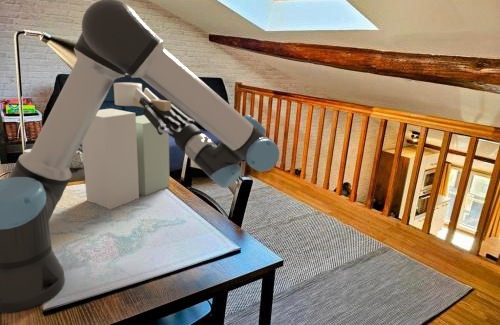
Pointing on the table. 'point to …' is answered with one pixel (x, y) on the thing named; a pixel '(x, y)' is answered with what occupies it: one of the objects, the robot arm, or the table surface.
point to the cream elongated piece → (126, 97)
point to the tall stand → (111, 158)
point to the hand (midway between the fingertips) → (140, 92)
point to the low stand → (151, 157)
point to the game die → (77, 160)
